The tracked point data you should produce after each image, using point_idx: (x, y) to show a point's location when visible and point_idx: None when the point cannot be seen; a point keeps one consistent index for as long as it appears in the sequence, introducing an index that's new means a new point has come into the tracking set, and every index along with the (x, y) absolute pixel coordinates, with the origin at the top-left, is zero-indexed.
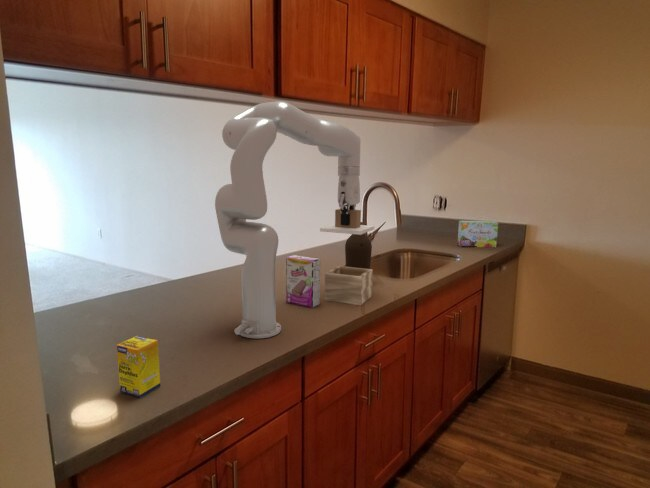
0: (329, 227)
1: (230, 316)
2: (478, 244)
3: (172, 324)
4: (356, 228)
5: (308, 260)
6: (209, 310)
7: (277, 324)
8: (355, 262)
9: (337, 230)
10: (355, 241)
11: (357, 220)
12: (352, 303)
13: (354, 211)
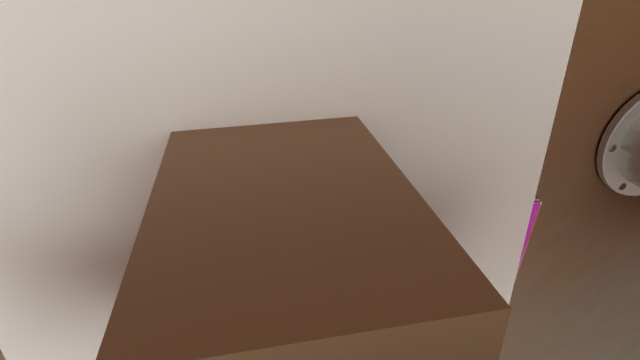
0: None
1: (559, 261)
2: None
3: (627, 314)
4: (357, 113)
5: (528, 230)
6: (529, 323)
7: (637, 111)
8: None
9: (512, 253)
10: None
11: (343, 173)
12: None
13: (490, 350)
